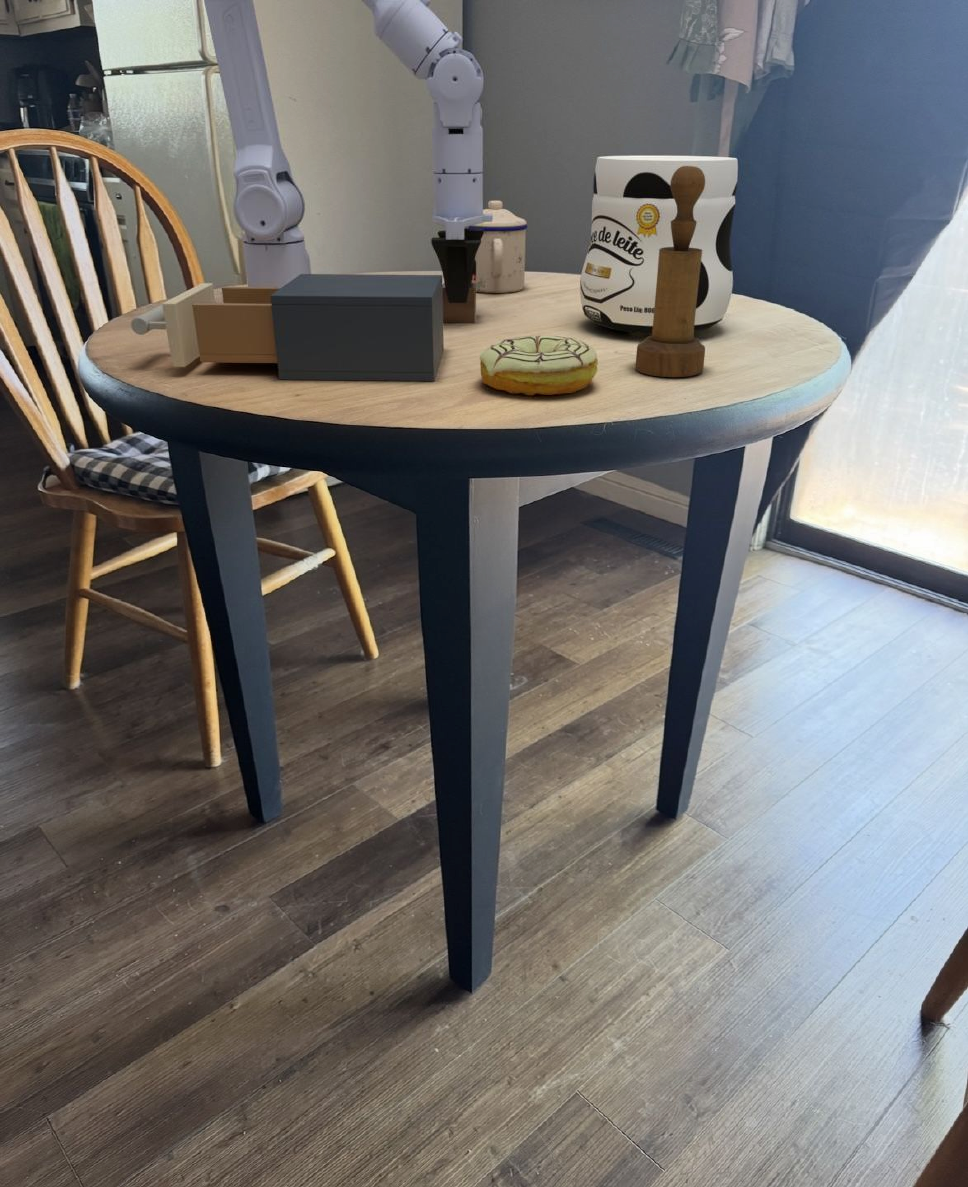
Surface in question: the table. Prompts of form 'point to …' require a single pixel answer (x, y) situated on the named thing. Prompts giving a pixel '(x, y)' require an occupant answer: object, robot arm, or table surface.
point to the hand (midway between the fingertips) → (459, 296)
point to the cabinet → (359, 327)
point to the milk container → (654, 238)
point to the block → (460, 307)
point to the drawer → (215, 325)
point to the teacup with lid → (500, 252)
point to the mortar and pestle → (676, 290)
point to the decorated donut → (539, 365)
